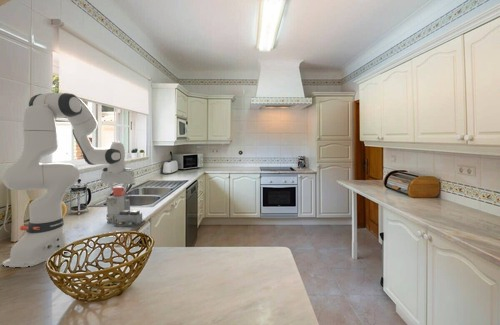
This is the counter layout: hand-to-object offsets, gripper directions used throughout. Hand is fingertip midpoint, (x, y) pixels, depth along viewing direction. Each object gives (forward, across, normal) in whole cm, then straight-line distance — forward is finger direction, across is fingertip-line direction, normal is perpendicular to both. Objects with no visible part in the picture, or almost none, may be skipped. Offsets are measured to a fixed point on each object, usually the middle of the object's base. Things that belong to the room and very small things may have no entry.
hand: (118, 190), depth 159 cm
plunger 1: (+17, -9, +8) cm, 21 cm away
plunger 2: (+17, -15, +8) cm, 24 cm away
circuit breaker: (+18, 0, 0) cm, 18 cm away
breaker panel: (+18, -12, +8) cm, 23 cm away
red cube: (+3, 0, 0) cm, 3 cm away
